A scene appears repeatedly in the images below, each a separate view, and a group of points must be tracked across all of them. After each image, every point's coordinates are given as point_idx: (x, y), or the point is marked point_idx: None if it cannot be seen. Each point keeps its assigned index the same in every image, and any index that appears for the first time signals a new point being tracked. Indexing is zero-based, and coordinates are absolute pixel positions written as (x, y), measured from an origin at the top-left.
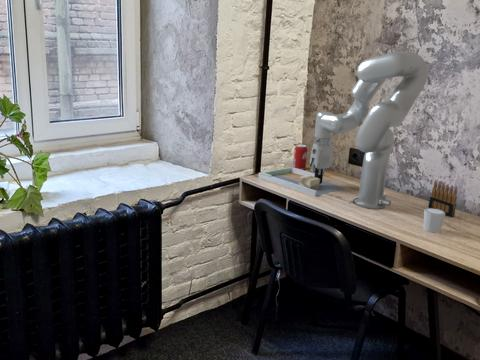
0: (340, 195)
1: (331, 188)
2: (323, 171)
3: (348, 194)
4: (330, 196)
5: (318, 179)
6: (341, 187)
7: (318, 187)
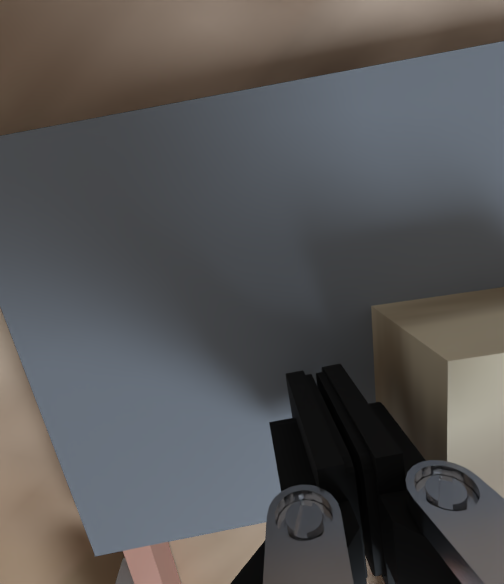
0: (208, 22)
1: (221, 214)
2: (312, 556)
3: (51, 9)
4: (379, 48)
5: (483, 350)
6: (24, 196)
7: (384, 305)
